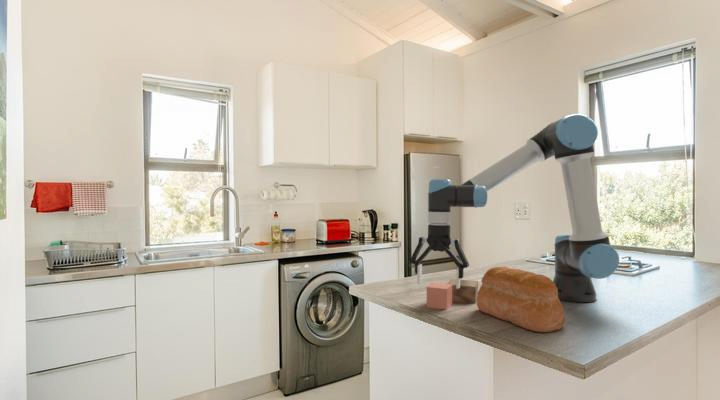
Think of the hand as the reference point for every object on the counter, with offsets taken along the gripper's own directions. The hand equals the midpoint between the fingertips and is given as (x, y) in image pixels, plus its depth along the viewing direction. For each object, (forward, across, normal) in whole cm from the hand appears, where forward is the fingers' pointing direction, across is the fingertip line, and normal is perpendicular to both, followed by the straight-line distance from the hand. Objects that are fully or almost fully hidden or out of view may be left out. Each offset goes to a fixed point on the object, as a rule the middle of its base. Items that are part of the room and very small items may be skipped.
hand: (438, 285), depth 135 cm
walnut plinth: (+7, -5, -13) cm, 16 cm away
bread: (+7, -26, +3) cm, 27 cm away
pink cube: (+7, 0, 0) cm, 7 cm away
